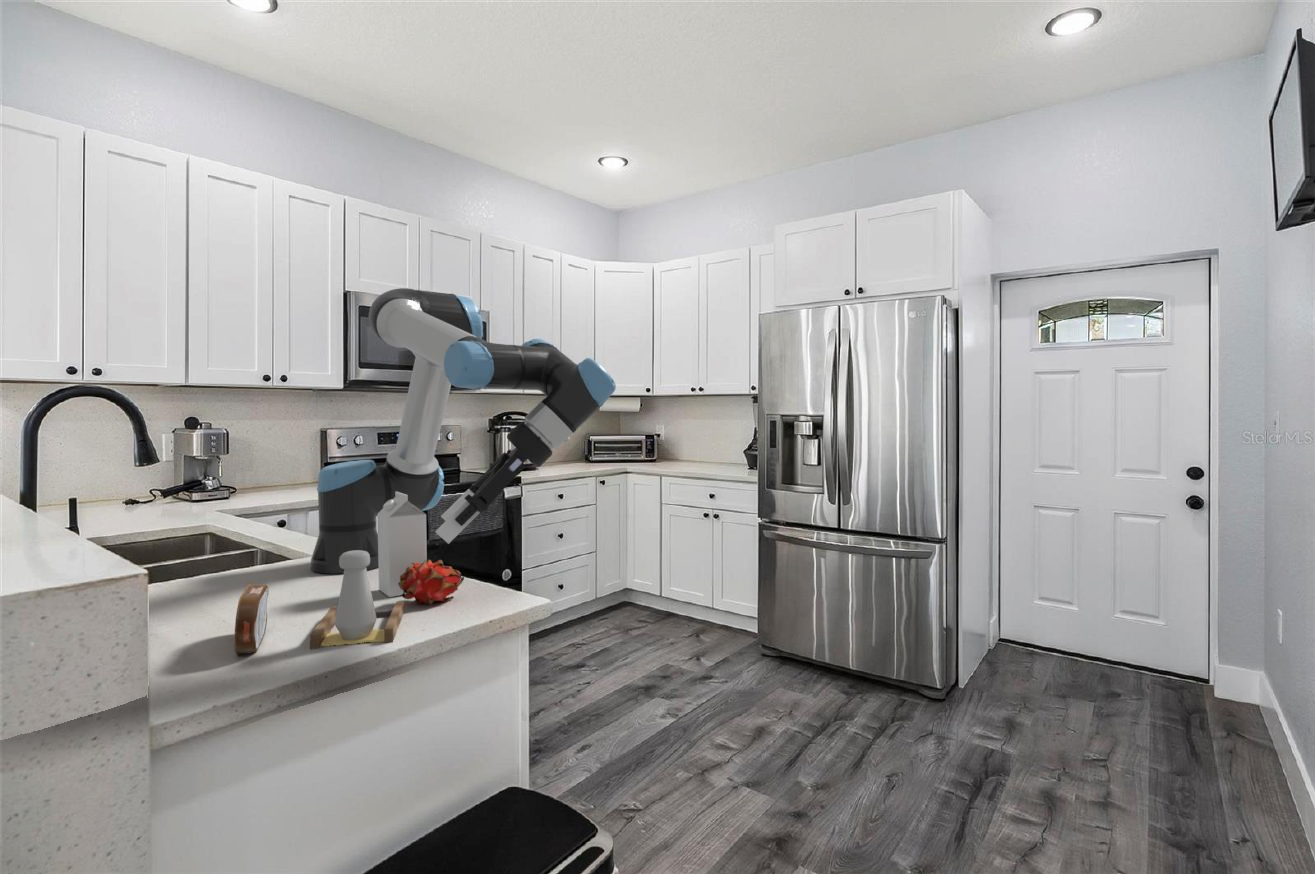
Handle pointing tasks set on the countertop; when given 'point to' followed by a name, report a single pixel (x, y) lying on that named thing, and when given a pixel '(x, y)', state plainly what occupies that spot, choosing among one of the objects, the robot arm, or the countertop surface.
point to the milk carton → (399, 541)
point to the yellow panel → (337, 639)
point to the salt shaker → (355, 597)
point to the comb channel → (392, 623)
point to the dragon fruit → (429, 582)
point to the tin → (251, 619)
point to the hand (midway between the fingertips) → (444, 529)
